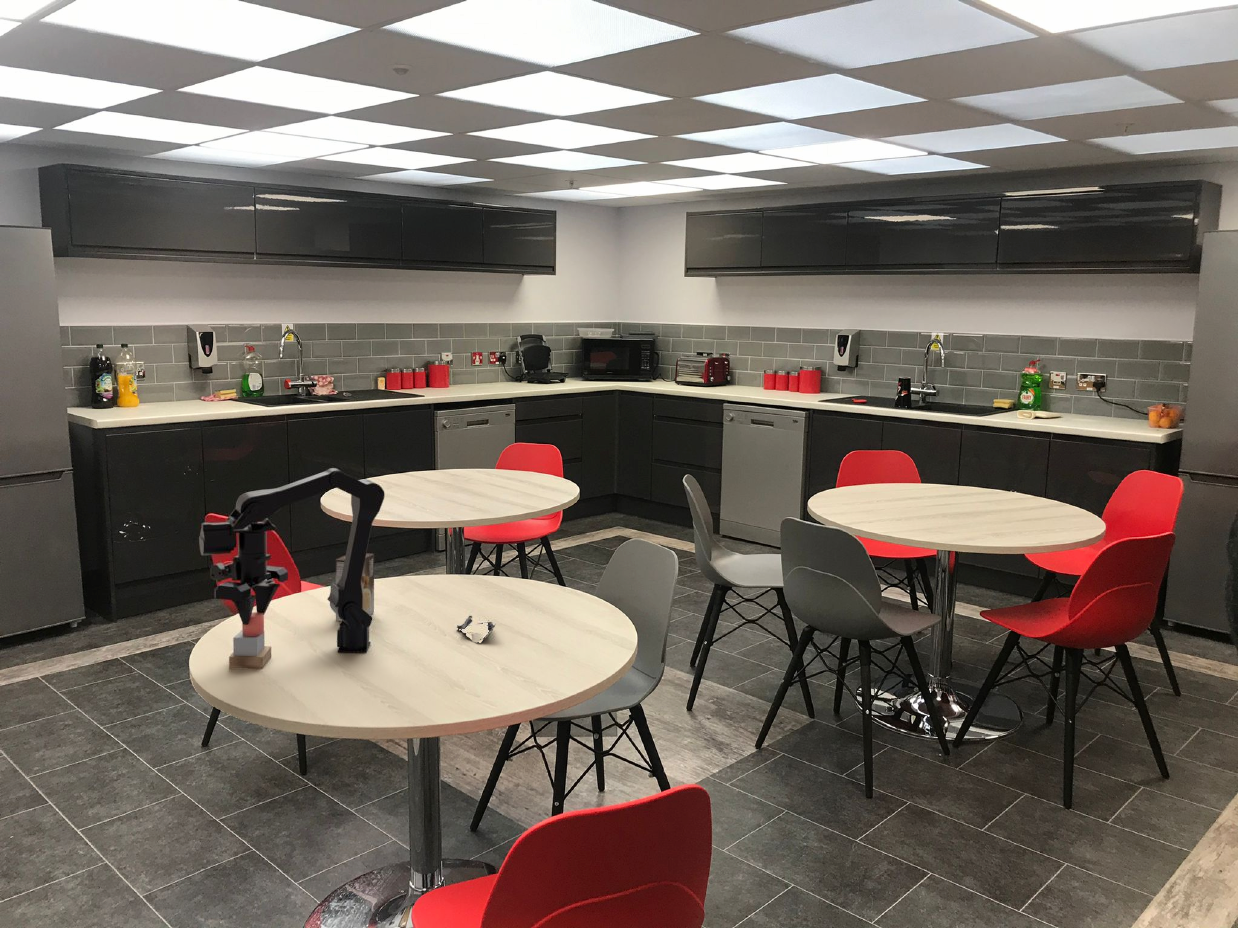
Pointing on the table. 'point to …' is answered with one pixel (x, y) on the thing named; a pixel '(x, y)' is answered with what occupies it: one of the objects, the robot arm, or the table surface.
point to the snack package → (468, 621)
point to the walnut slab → (251, 660)
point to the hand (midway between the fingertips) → (253, 620)
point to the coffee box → (366, 582)
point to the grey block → (248, 645)
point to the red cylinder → (254, 625)
